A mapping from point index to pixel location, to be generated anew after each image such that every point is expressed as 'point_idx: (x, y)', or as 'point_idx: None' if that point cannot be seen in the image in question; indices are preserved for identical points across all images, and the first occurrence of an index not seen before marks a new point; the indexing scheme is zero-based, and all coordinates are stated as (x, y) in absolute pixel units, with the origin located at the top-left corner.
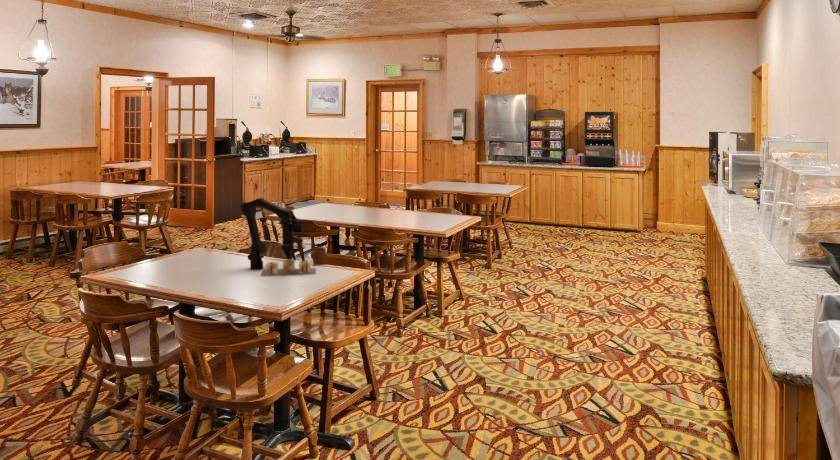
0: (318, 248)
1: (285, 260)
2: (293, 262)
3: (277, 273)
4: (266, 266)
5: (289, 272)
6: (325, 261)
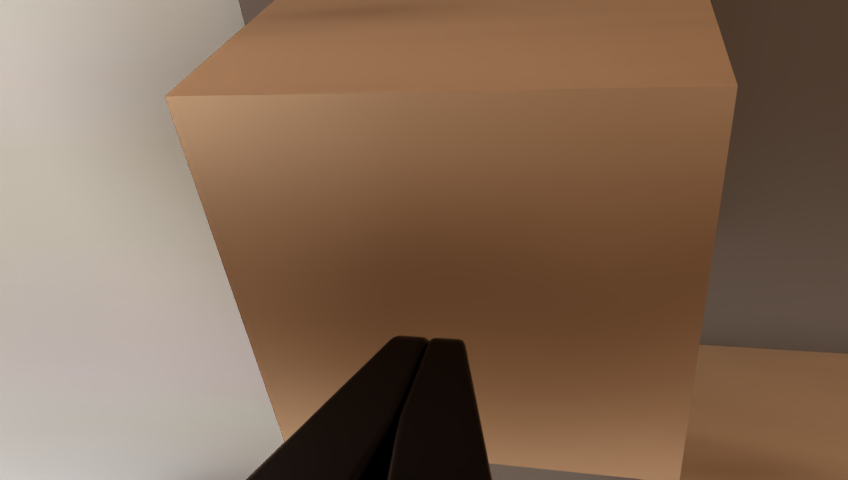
0: None
1: None
2: (732, 83)
3: (829, 360)
4: None
5: (740, 78)
6: None
